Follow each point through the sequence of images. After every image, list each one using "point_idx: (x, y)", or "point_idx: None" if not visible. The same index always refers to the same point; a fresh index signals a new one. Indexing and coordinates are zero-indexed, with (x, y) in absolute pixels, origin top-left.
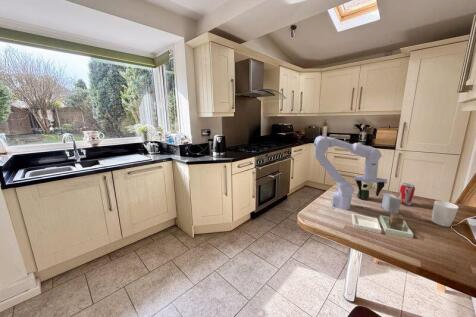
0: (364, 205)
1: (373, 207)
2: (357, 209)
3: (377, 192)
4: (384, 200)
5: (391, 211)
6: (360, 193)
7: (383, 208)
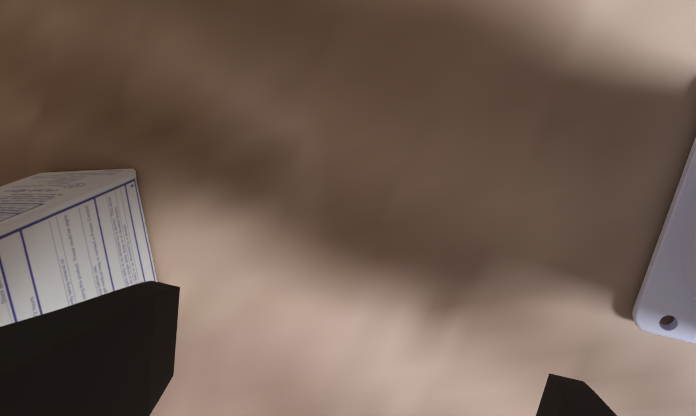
0: (377, 369)
1: (273, 327)
2: (539, 222)
3: (109, 323)
4: None
5: (86, 179)
6: (578, 387)
7: None
